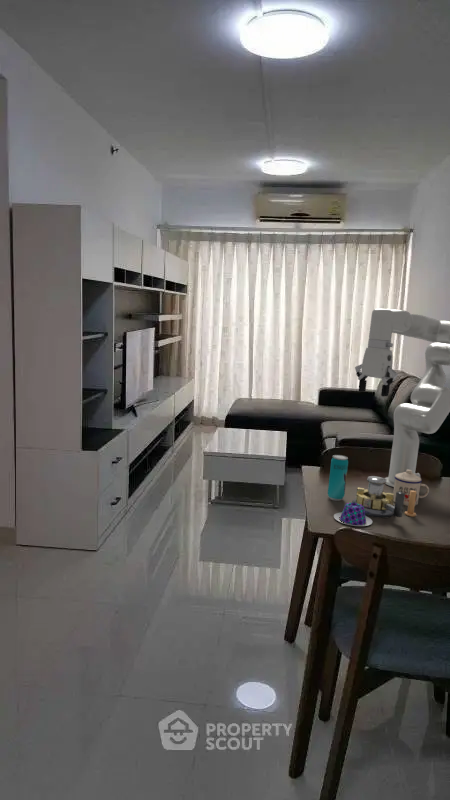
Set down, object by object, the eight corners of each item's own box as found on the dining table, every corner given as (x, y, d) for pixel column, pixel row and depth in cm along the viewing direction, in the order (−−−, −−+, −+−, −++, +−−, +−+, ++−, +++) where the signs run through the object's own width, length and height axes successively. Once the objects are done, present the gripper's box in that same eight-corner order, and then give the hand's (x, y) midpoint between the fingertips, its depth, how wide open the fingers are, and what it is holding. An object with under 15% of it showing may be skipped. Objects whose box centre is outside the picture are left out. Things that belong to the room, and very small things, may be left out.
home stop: (408, 512, 204) (411, 489, 203) (418, 515, 201) (421, 492, 200) (402, 513, 202) (405, 490, 200) (411, 517, 199) (414, 493, 198)
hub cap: (369, 500, 213) (373, 470, 211) (403, 513, 202) (407, 482, 200) (342, 506, 204) (346, 475, 202) (377, 520, 193) (381, 487, 192)
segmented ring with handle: (348, 498, 206) (351, 476, 204) (377, 496, 210) (379, 475, 209) (385, 518, 188) (388, 495, 187) (415, 516, 193) (418, 493, 192)
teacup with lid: (392, 504, 211) (396, 471, 209) (390, 496, 220) (395, 465, 218) (428, 509, 209) (433, 476, 207) (425, 501, 218) (430, 469, 216)
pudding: (342, 511, 200) (344, 496, 199) (377, 521, 194) (379, 505, 193) (327, 520, 190) (328, 504, 190) (363, 531, 184) (365, 515, 183)
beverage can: (343, 502, 209) (348, 459, 206) (326, 500, 210) (331, 457, 207) (343, 497, 214) (348, 455, 212) (327, 495, 215) (332, 453, 213)
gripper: (406, 348, 207) (400, 397, 210) (365, 342, 220) (360, 389, 223) (393, 347, 202) (387, 398, 205) (352, 342, 215) (346, 390, 218)
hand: (373, 393), depth 214 cm, fingers open, 9 cm apart
